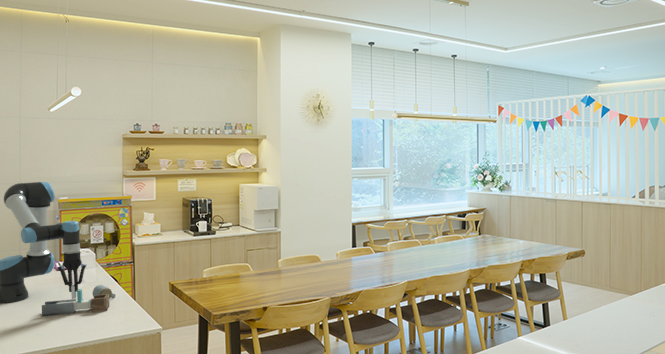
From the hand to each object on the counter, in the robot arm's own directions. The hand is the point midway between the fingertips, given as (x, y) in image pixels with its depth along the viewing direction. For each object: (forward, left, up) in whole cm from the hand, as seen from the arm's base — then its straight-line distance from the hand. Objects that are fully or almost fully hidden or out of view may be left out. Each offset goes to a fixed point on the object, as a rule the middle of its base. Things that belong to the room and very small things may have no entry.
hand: (74, 297), depth 246 cm
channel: (0, -7, -7) cm, 10 cm away
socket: (0, +12, -7) cm, 14 cm away
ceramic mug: (-18, +11, -7) cm, 22 cm away
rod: (0, +1, -6) cm, 6 cm away
